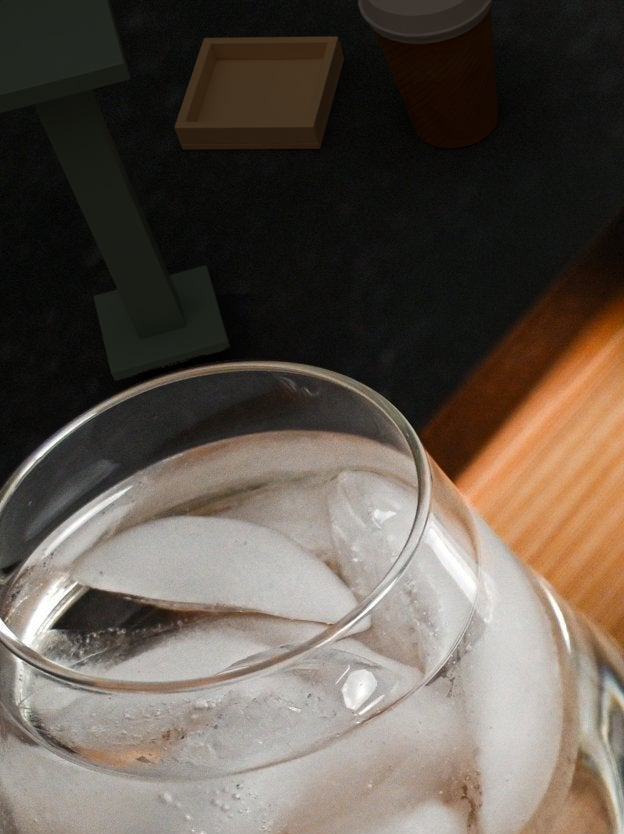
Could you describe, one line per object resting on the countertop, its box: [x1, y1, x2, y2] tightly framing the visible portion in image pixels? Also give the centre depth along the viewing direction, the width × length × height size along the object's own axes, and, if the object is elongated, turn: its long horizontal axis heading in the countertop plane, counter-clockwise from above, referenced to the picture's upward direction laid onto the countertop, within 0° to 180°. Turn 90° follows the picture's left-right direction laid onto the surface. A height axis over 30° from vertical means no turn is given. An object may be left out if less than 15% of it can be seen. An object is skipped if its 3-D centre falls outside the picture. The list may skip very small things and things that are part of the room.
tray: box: [174, 36, 345, 151], centre depth 144 cm, size 10×10×2 cm
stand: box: [0, 0, 231, 382], centre depth 123 cm, size 9×9×23 cm
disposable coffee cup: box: [357, 0, 500, 149], centre depth 138 cm, size 10×10×12 cm
